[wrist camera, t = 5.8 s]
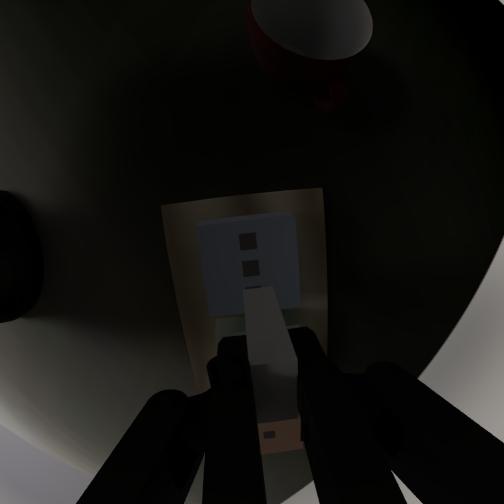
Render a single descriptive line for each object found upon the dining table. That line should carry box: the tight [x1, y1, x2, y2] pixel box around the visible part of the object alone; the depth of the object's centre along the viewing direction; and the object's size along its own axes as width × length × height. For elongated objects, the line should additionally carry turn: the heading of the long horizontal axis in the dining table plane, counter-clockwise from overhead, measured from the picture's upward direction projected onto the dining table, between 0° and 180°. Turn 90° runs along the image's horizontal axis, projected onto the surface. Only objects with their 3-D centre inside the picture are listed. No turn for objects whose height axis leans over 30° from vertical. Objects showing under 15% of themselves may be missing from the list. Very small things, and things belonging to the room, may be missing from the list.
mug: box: [247, 0, 374, 113], centre depth 18 cm, size 10×8×10 cm
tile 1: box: [258, 411, 303, 454], centre depth 27 cm, size 7×7×3 cm
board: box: [161, 188, 328, 394], centre depth 28 cm, size 14×28×3 cm, turn 6°
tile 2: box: [215, 310, 300, 348], centre depth 26 cm, size 7×7×3 cm
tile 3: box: [196, 211, 301, 317], centre depth 23 cm, size 7×7×3 cm
